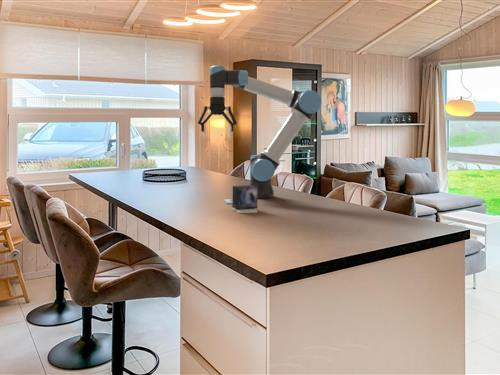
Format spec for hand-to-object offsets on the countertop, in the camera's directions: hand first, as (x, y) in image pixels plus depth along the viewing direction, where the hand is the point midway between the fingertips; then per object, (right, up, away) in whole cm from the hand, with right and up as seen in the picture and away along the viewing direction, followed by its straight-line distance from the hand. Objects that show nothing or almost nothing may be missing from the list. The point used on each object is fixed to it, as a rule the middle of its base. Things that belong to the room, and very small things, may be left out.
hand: (217, 138), depth 248 cm
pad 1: (+9, -33, -2) cm, 34 cm away
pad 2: (+14, -36, -24) cm, 46 cm away
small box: (+15, -36, -24) cm, 45 cm away
